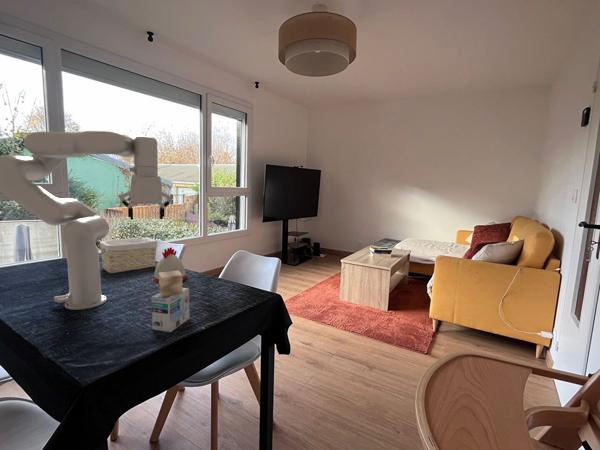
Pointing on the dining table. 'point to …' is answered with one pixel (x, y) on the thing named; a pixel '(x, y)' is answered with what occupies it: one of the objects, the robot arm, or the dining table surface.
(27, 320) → the dining table surface
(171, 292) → the maple block
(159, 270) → the kitchen timer
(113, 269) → the storage basket
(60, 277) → the dining table surface
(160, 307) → the light bulb box
